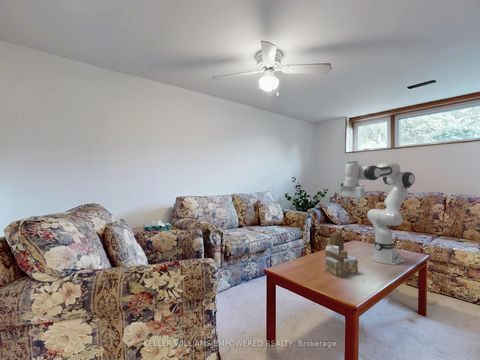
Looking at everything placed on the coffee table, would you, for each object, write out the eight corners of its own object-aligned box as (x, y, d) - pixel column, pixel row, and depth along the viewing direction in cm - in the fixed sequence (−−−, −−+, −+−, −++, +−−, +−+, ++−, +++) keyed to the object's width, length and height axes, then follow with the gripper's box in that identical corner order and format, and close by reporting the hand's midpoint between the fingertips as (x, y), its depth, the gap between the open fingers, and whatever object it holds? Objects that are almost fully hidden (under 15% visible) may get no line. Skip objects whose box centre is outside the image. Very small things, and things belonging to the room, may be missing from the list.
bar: (328, 254, 166) (328, 250, 166) (344, 261, 152) (344, 257, 152) (325, 254, 165) (325, 250, 165) (340, 262, 151) (340, 257, 151)
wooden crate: (344, 266, 168) (344, 252, 168) (359, 273, 156) (359, 258, 156) (323, 269, 163) (323, 254, 163) (337, 277, 150) (337, 261, 150)
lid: (346, 256, 166) (346, 248, 166) (357, 260, 157) (357, 252, 157) (325, 259, 161) (325, 250, 161) (335, 263, 152) (335, 255, 152)
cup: (332, 265, 170) (332, 249, 170) (323, 261, 179) (323, 245, 178) (341, 263, 174) (341, 247, 174) (332, 259, 182) (332, 244, 182)
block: (336, 260, 180) (336, 234, 180) (328, 258, 186) (328, 232, 186) (345, 258, 186) (345, 233, 185) (336, 255, 192) (337, 231, 192)
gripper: (367, 184, 158) (367, 205, 158) (345, 183, 177) (344, 202, 177) (360, 184, 156) (359, 205, 156) (338, 183, 175) (337, 202, 175)
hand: (351, 203), depth 167 cm, fingers open, 8 cm apart
